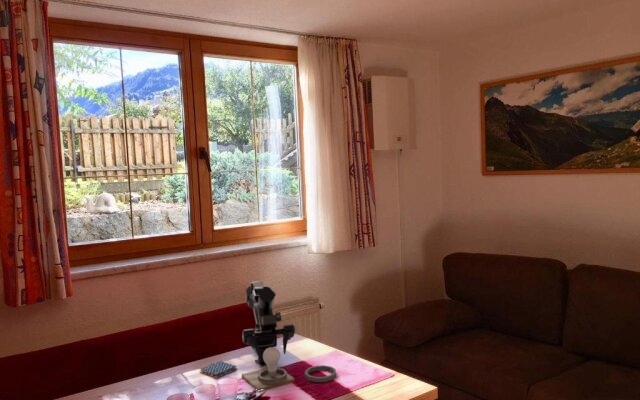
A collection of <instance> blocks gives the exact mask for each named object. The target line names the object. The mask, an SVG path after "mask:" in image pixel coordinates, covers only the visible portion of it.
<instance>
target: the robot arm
mask: <svg viewBox="0 0 640 400" xmlns="http://www.w3.org/2000/svg"><path fill="white" fill-rule="evenodd" d="M263 282H264V281H261V280H254V281H251V282H250V284H249V286H248V287H247V288H246V289H245V302H246V303H247V306H248V308H250V309H251V310H252V311H253V315H254V320H255V326H254V327H255V328H247V329H243V330H242V336H241V337H242V343H243V344H246V345H247V346H250V347H251V349H252V350H253V351H254V353H255V354H256V356H257V359H255V360H254V362H255V363H256V364H258V365H259V366H260V367H264V366H267V365H266V363H265V362H264V360H263V353H264V351H265V350H266V349H267V348H269V347H274V348H277V346H278V336H280V335H281V336H282V348H283V354H284V355H286V353H287V352H286V351H287V345H288V342H289V341H290V340H291V339H292V338H294V336H295V332H296V327H295V325H294V324H293V323H290V324H283V326H282V328H278V329H277V327H278V325H277V323H279V322H282V314H281V312H280V311H278V312H274V308H273V307H274V301H275V297H276V292H275V291H274V290H273V288H271V286H270V285H264V283H263Z"/></svg>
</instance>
